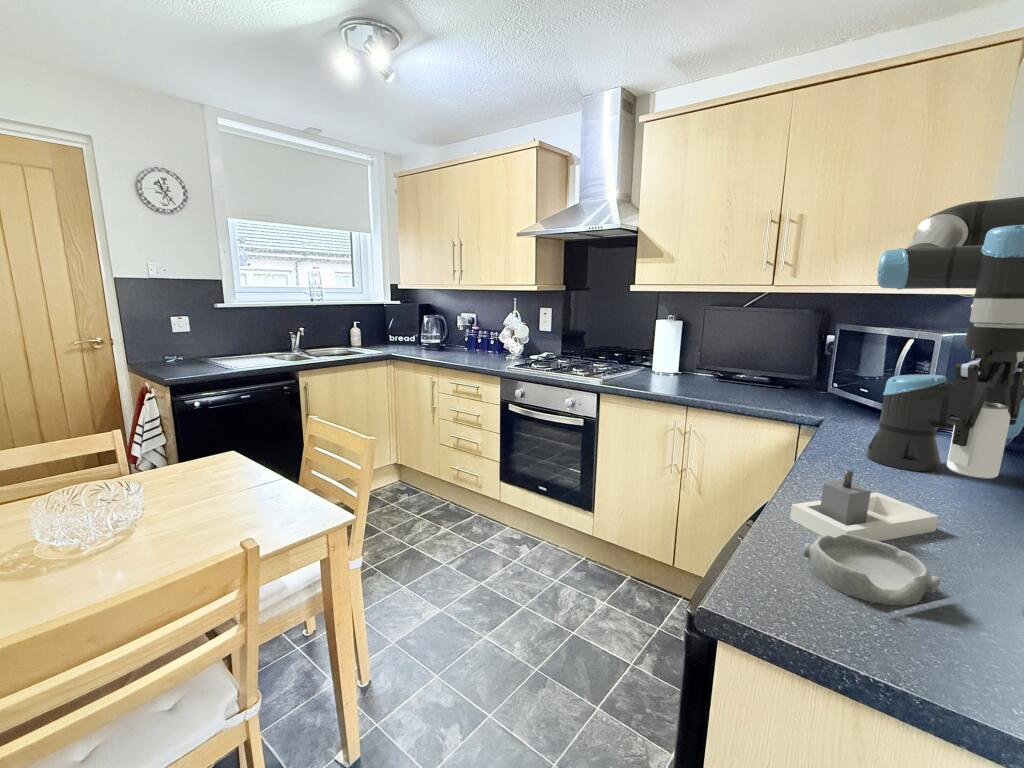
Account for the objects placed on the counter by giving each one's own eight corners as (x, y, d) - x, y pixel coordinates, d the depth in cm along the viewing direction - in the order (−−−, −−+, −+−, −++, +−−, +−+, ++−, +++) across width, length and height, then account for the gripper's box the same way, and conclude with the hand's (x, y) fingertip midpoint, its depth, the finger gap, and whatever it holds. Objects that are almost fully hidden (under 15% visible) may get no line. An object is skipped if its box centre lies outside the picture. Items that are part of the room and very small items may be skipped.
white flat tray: (874, 508, 97) (877, 492, 97) (935, 533, 87) (938, 515, 86) (789, 521, 91) (791, 504, 91) (843, 550, 81) (846, 531, 80)
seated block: (838, 520, 91) (846, 465, 89) (864, 532, 86) (873, 474, 84) (818, 523, 89) (825, 467, 87) (843, 536, 84) (852, 477, 82)
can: (1008, 481, 78) (1024, 409, 76) (962, 477, 79) (976, 407, 77) (979, 466, 84) (992, 400, 82) (937, 464, 85) (949, 399, 83)
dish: (948, 607, 67) (954, 574, 66) (866, 619, 64) (872, 585, 63) (854, 553, 80) (859, 525, 80) (784, 561, 78) (788, 533, 77)
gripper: (1010, 323, 83) (985, 449, 87) (931, 325, 78) (909, 459, 82) (1070, 326, 76) (1039, 463, 80) (988, 328, 71) (960, 475, 75)
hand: (973, 461), depth 81 cm, fingers closed on can, 6 cm apart
